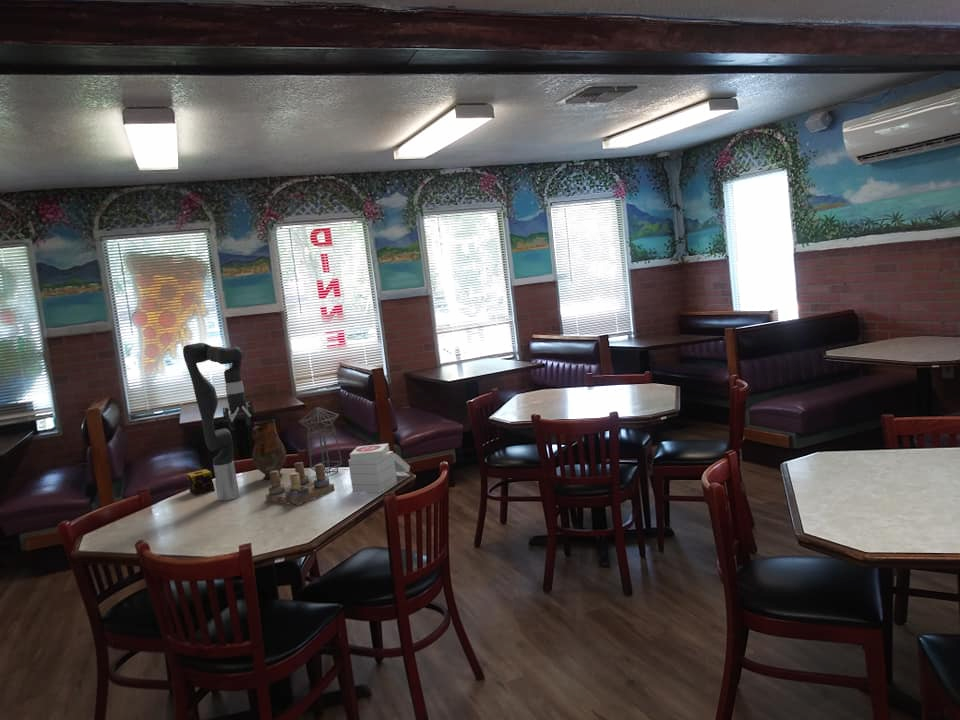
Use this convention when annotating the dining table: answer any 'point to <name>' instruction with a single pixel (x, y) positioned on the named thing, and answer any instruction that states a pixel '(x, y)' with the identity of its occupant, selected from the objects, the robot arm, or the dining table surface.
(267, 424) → the pitcher
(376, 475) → the pizza box stack
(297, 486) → the loose leg
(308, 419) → the geometric lantern
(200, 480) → the yellow and brown cube
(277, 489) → the stool
